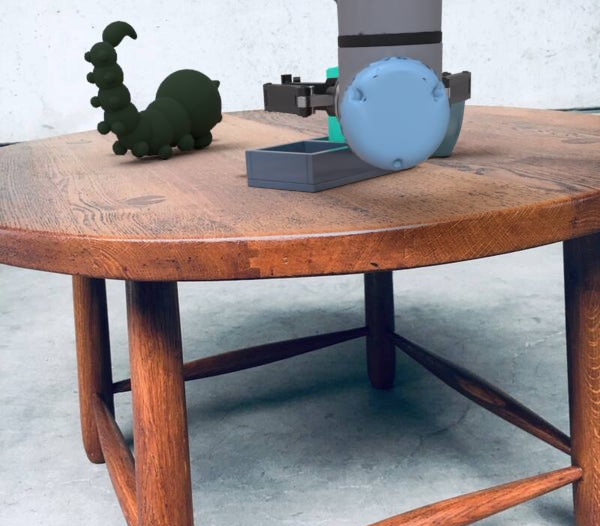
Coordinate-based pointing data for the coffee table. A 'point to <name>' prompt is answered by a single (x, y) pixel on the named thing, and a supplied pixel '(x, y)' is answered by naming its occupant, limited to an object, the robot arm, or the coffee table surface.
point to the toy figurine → (152, 104)
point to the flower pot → (451, 130)
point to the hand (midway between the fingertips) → (361, 86)
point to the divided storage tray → (307, 166)
